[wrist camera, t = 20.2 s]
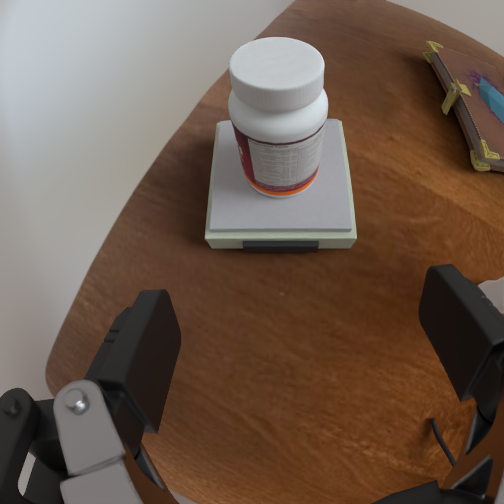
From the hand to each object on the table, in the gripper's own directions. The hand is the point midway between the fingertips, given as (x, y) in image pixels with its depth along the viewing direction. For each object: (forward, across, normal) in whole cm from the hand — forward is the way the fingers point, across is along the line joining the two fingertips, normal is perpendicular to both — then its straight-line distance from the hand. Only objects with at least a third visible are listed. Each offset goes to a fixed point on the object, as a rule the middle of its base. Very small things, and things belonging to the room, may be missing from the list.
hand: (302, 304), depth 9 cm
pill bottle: (+18, 0, 0) cm, 18 cm away
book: (+29, -30, -6) cm, 42 cm away
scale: (+20, 0, +2) cm, 20 cm away
